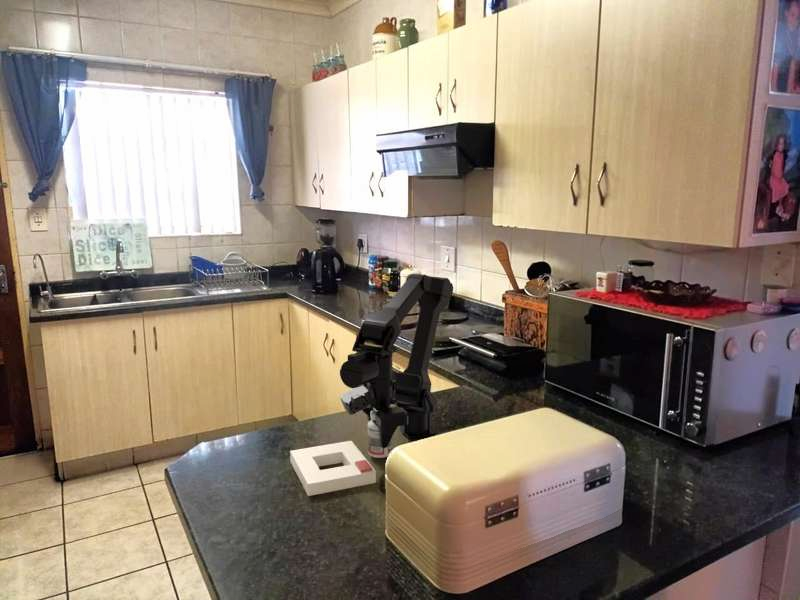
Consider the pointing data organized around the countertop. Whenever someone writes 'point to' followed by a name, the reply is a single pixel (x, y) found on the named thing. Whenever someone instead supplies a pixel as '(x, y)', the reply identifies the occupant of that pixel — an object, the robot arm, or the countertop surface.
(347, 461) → the socket plate
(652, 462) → the countertop surface
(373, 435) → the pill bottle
